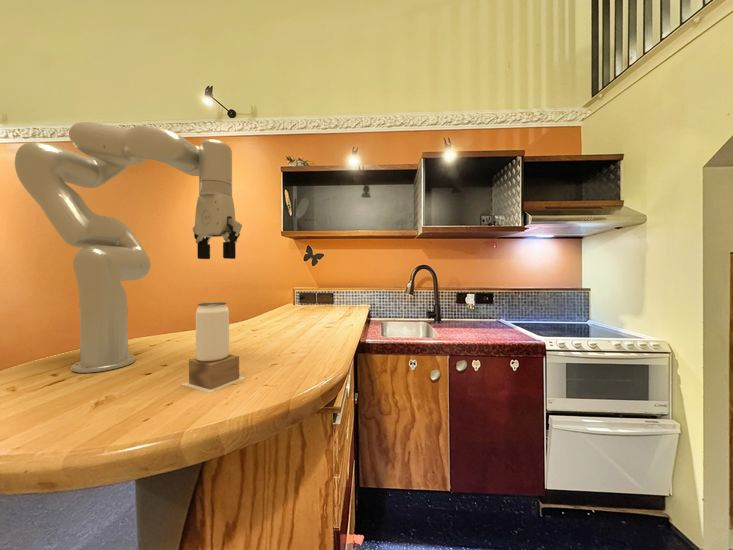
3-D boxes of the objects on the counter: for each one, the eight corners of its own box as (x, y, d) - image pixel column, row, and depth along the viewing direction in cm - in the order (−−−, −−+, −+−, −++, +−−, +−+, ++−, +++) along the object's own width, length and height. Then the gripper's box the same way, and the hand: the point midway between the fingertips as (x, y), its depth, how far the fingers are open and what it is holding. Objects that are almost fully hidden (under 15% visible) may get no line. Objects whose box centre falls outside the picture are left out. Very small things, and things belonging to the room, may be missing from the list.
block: (189, 383, 64) (188, 360, 63) (218, 373, 70) (218, 352, 70) (210, 389, 60) (210, 365, 60) (239, 378, 67) (239, 356, 67)
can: (214, 363, 61) (214, 305, 61) (188, 361, 63) (188, 304, 63) (235, 355, 68) (235, 302, 67) (211, 352, 69) (211, 301, 69)
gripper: (180, 192, 76) (180, 258, 77) (226, 184, 69) (226, 257, 69) (207, 198, 83) (207, 259, 83) (252, 191, 75) (252, 259, 76)
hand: (216, 258), depth 76 cm, fingers open, 9 cm apart
